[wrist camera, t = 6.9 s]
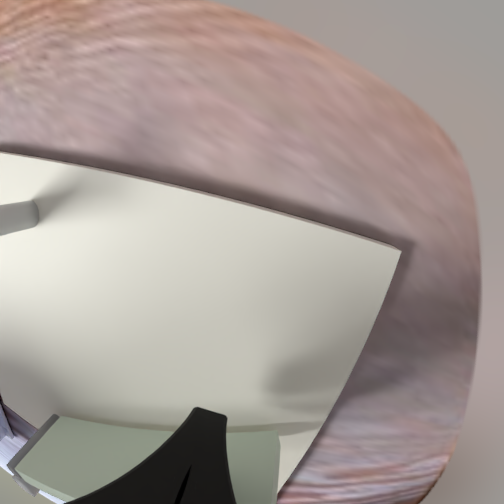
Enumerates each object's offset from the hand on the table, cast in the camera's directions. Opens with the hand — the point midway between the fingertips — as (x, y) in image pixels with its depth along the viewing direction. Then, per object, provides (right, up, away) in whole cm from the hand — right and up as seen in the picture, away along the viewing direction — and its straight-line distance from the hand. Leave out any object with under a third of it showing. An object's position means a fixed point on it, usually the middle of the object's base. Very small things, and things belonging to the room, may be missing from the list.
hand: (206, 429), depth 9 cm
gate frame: (-5, 0, +4) cm, 7 cm away
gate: (-4, -3, +3) cm, 6 cm away
